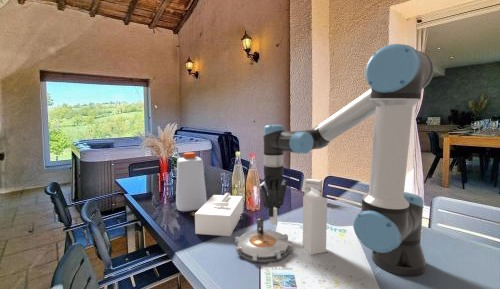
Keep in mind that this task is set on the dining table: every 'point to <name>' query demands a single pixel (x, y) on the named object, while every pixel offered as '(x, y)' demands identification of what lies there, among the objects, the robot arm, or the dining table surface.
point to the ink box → (313, 185)
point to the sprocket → (262, 243)
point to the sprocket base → (262, 259)
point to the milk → (314, 222)
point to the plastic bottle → (190, 183)
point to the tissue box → (219, 215)
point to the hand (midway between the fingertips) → (273, 223)
